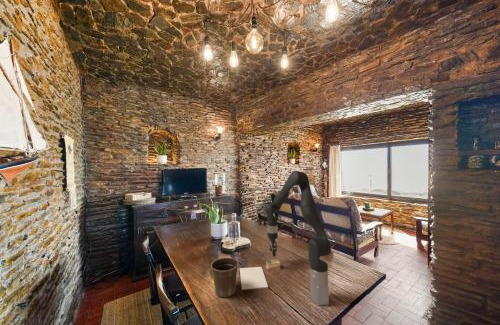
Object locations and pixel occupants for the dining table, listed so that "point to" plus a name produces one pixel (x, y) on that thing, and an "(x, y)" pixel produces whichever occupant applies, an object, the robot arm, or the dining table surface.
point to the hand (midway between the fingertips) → (272, 253)
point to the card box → (272, 264)
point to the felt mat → (252, 278)
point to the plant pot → (224, 276)
